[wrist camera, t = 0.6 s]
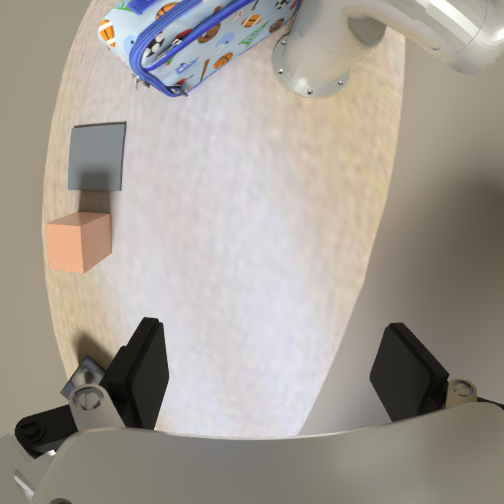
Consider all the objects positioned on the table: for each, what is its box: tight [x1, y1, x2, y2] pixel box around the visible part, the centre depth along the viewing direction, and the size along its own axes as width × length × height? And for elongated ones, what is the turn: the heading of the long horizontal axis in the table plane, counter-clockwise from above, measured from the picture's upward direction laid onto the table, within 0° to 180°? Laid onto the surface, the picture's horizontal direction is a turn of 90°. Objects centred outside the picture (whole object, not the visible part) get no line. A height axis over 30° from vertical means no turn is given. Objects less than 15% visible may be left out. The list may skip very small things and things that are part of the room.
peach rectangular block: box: [45, 212, 111, 274], centre depth 39 cm, size 7×7×10 cm
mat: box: [68, 124, 126, 191], centre depth 40 cm, size 11×11×1 cm
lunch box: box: [98, 0, 300, 97], centre depth 25 cm, size 28×10×22 cm, turn 133°
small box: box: [60, 356, 106, 399], centre depth 48 cm, size 11×6×10 cm, turn 43°
